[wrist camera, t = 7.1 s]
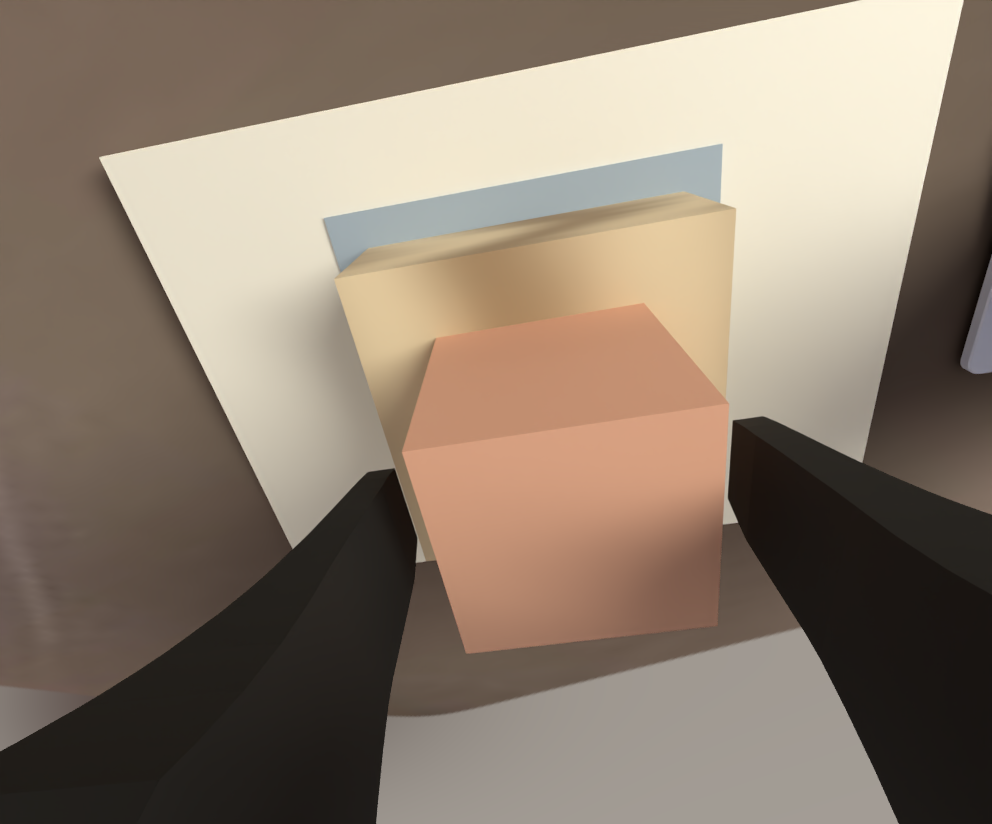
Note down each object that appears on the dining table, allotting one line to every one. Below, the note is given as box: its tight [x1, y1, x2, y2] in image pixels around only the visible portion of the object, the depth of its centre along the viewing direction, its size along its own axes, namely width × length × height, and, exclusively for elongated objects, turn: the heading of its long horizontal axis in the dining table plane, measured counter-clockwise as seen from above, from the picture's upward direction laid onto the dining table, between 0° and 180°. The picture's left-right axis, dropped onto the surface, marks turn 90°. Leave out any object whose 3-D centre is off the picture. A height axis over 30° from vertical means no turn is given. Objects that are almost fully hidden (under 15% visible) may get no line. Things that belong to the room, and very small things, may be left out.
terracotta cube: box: [402, 303, 729, 654], centre depth 11 cm, size 5×5×5 cm
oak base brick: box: [334, 191, 736, 561], centre depth 15 cm, size 9×9×4 cm
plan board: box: [99, 0, 963, 563], centre depth 17 cm, size 22×16×1 cm
